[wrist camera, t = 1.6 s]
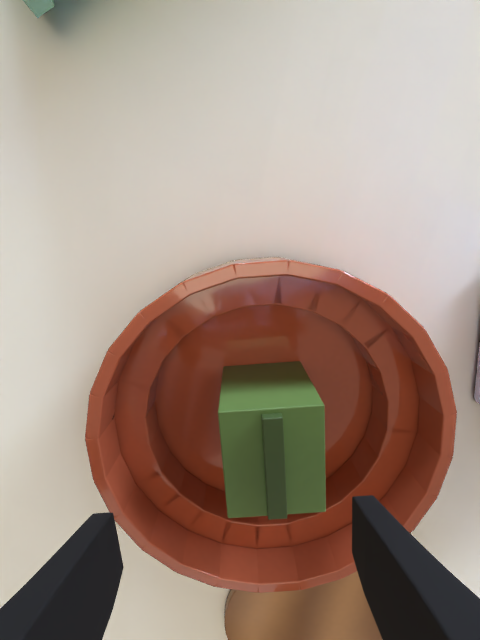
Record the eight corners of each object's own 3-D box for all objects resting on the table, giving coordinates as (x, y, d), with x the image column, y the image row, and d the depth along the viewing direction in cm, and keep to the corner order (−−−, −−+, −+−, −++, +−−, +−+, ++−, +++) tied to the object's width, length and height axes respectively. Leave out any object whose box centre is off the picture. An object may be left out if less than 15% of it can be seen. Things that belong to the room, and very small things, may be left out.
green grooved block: (300, 360, 17) (327, 409, 12) (302, 442, 19) (328, 520, 13) (223, 365, 17) (217, 417, 12) (230, 447, 19) (227, 527, 13)
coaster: (387, 541, 21) (392, 549, 20) (383, 666, 23) (386, 677, 23) (218, 552, 21) (217, 561, 20) (231, 675, 23) (231, 686, 23)
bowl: (410, 246, 17) (472, 246, 12) (398, 509, 20) (442, 582, 16) (100, 268, 17) (52, 276, 12) (142, 526, 20) (116, 602, 16)
